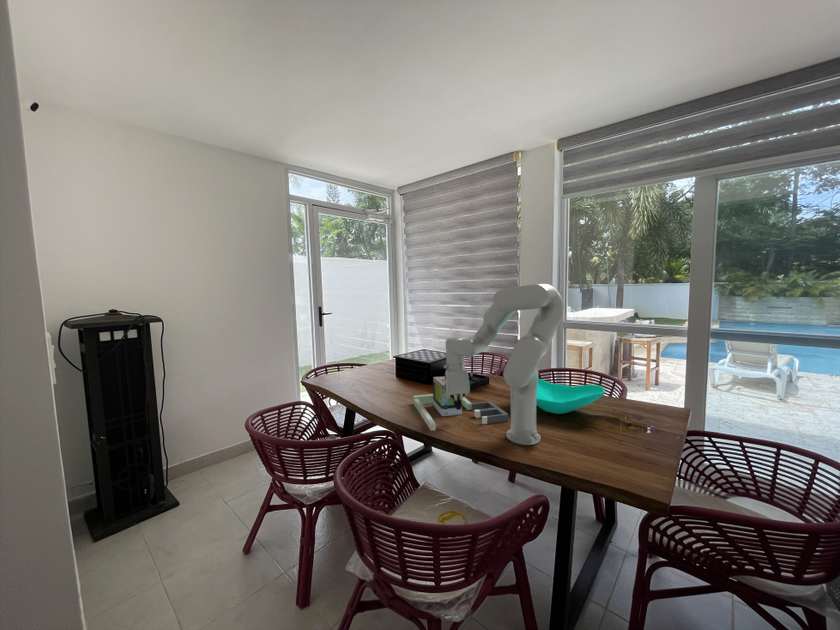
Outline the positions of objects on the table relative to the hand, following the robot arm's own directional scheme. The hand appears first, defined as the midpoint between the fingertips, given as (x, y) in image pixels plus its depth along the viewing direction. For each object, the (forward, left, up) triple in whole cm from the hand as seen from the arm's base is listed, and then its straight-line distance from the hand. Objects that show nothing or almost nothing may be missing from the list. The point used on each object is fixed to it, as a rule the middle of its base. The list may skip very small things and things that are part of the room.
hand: (458, 408), depth 143 cm
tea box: (+16, 0, -7) cm, 17 cm away
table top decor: (0, -48, -7) cm, 49 cm away
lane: (+12, +1, -6) cm, 14 cm away
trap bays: (+4, -17, -6) cm, 18 cm away
